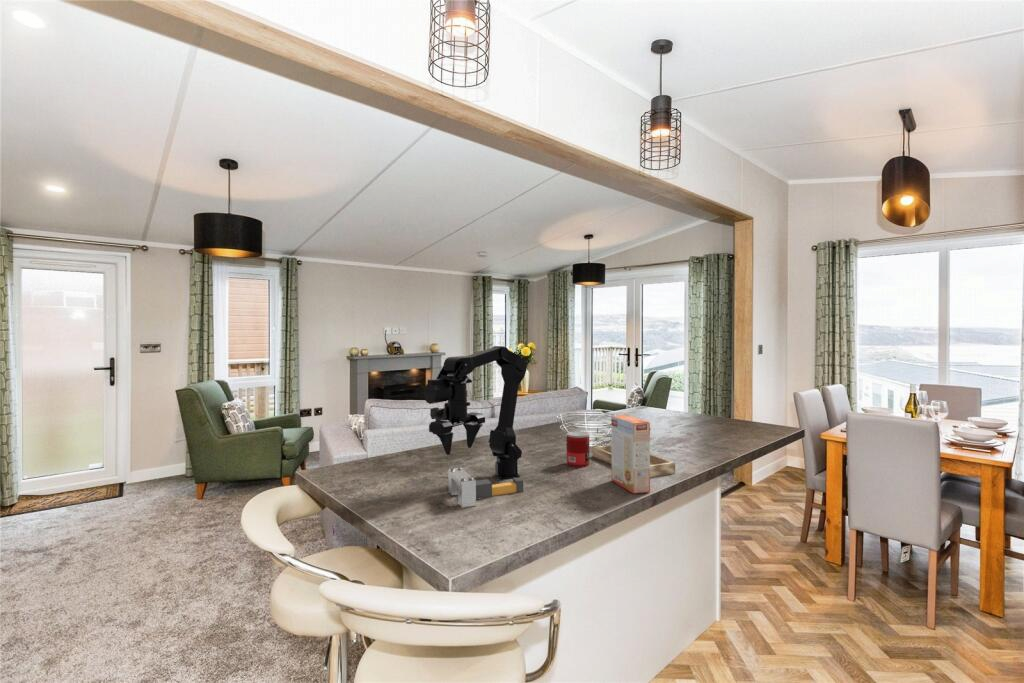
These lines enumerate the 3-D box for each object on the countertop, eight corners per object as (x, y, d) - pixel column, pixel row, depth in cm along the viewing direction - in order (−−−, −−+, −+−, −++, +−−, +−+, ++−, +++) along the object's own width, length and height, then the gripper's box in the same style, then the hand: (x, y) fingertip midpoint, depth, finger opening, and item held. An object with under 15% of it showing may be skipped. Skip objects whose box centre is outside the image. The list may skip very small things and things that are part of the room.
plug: (518, 488, 148) (518, 475, 148) (523, 492, 144) (523, 478, 144) (471, 495, 142) (471, 481, 142) (475, 499, 138) (475, 485, 138)
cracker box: (651, 492, 142) (650, 421, 141) (632, 494, 140) (632, 422, 140) (628, 478, 155) (627, 413, 155) (610, 480, 154) (610, 414, 153)
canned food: (591, 467, 169) (590, 435, 169) (568, 467, 169) (567, 436, 169) (587, 461, 176) (587, 431, 176) (565, 461, 177) (565, 431, 176)
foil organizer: (621, 452, 188) (621, 443, 188) (675, 473, 160) (675, 462, 160) (593, 456, 183) (592, 447, 183) (643, 478, 155) (642, 467, 155)
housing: (461, 490, 146) (461, 466, 146) (476, 505, 133) (475, 479, 133) (448, 492, 144) (448, 468, 144) (462, 508, 132) (461, 481, 131)
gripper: (459, 393, 157) (460, 441, 157) (415, 401, 142) (416, 454, 142) (485, 395, 150) (487, 445, 150) (441, 404, 135) (443, 460, 136)
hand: (458, 451), depth 145 cm, fingers open, 9 cm apart
